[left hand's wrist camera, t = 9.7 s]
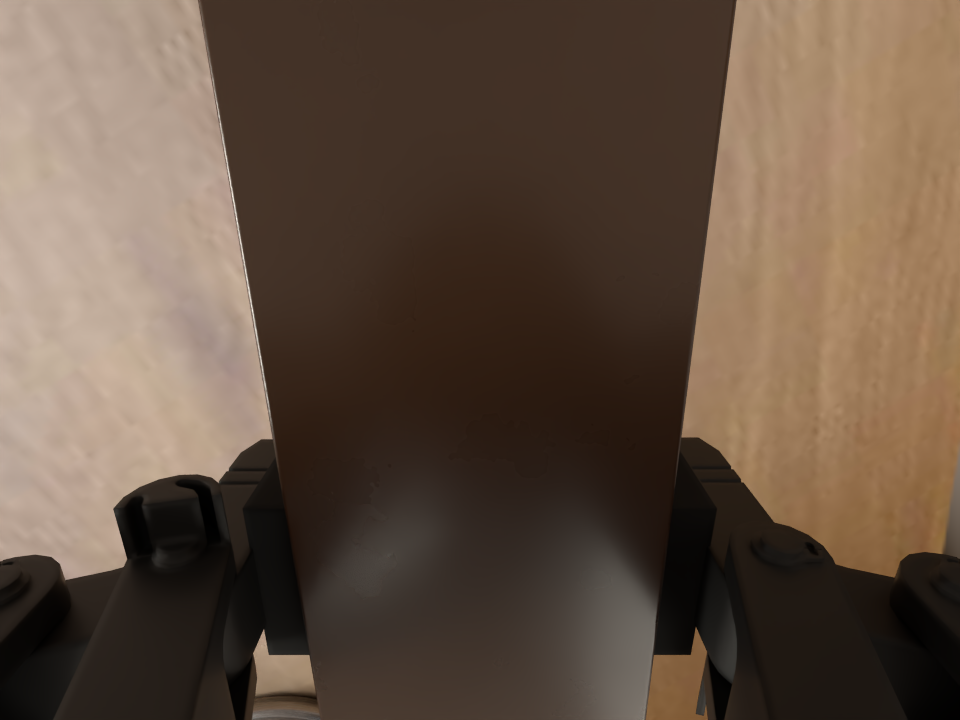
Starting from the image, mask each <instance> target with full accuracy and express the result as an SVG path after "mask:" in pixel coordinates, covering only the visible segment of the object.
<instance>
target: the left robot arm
mask: <svg viewBox="0 0 960 720" xmlns="http://www.w3.org/2000/svg"><path fill="white" fill-rule="evenodd" d="M113 510H114V513H115V517H116V520H117V524H118V527H119V531H120V535H121V538H122V542H123V545H124V549H125V552H126V556H127V561H126V563H125V566H124V567H123V568H119V569H115V570H112V571H107V572H102V573H98V574H93V575H88V576H83V577H79V578H74V579H69V580H65V578H64V575H63V572H62V569H61V566H60V564H59V563H58V562H57V561H55V560H54V559H53V558H52V557H48V556H40V555H29V556H22V557H14V558H10V559H6V560H3V561H1V562H0V720H321V719H320V714H319V708H318V702H317V699H314V698H308V697H298V696H271V697H262V698H256V699H255V691H256V683H257V674H256V666H255V661H254V656H253V652H254V650H255V648H256V645H257V643H258V641H259V639H260V636H261V634H262V632H263V630H264V631H265V636H266V642H267V647H268V653H269V655H309V649H308V643H307V637H306V631H305V625H304V620H303V614H302V608H301V602H300V596H299V590H298V584H297V578H296V573H295V567H294V561H293V555H292V549H291V543H290V537H289V531H288V526H287V520H286V514H285V508H284V502H283V496H282V490H281V484H280V479H279V473H278V467H277V461H276V455H275V449H274V443H273V439H261V440H260V441H258V442H257V443H255V444H254V445H252V446H251V447H249V448H248V449H246V450H244V451H243V452H241V453H240V455H239V456H238V457H237V459H236V460H235V461H234V462H233V464H232V465H231V466H230V468H229V471H227V472H226V473H225V474H224V476H223V477H222V478H221V479H220V481H219V483H218V482H216V481H215V480H214V479H213V478H211V477H206V476H202V475H178V476H173V477H168V478H164V479H159V480H157V481H154V482H152V483H149V484H147V485H144V486H141V487H139V488H138V489H136V490H135V491H133V492H131V493H130V494H128V495H127V496H125V497H123V499H122V500H121V501H120V502H119V503H118V504H117V505H116V506H115V508H114V509H113ZM695 628H697V630H698V632H699V634H700V637H701V639H702V641H703V643H704V646H705V648H706V650H707V656H706V661H705V666H704V671H703V676H702V681H701V686H700V692H699V697H698V702H697V709H696V714H698V715H703V716H704V712H705V707H707V715H708V720H960V559H958V558H957V557H953V556H949V555H944V554H936V553H928V552H922V553H915V554H909V555H908V556H907V557H905V558H904V559H903V560H902V561H900V564H899V567H898V570H897V573H896V576H895V578H893V577H889V576H884V575H879V574H874V573H870V572H865V571H860V570H855V569H851V568H846V567H843V566H839V565H836V564H835V562H834V560H833V558H832V557H831V556H830V554H829V553H828V552H827V550H826V549H825V548H824V546H823V545H821V544H820V543H818V542H817V541H816V540H814V539H813V538H812V537H810V536H809V535H807V534H805V533H803V532H801V531H798V530H796V529H794V528H792V527H790V526H786V525H782V524H778V523H774V522H773V520H772V519H771V518H770V516H769V515H768V514H767V512H766V511H765V510H764V509H763V507H762V506H761V505H760V503H759V502H758V501H757V499H756V498H755V497H754V496H753V494H752V493H751V492H750V490H749V489H748V488H747V487H746V485H745V484H744V483H741V479H740V477H739V476H738V475H737V474H736V472H735V471H734V470H733V469H731V466H730V464H729V463H728V462H727V461H726V459H725V458H724V457H723V455H722V454H721V453H720V452H719V451H718V450H717V449H715V448H714V447H712V446H711V445H709V444H708V443H706V442H704V441H703V440H701V439H700V438H681V443H680V451H679V459H678V467H677V475H676V483H675V491H674V499H673V507H672V515H671V522H670V530H669V538H668V546H667V554H666V562H665V570H664V578H663V586H662V594H661V602H660V610H659V617H658V625H657V633H656V641H655V649H654V655H691V650H692V645H693V639H694V634H695Z"/></svg>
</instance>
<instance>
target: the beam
mask: <svg viewBox="0 0 960 720" xmlns="http://www.w3.org/2000/svg"><path fill="white" fill-rule="evenodd" d="M198 3H199V8H200V14H201V20H202V26H203V32H204V38H205V44H206V50H207V55H208V61H209V67H210V73H211V79H212V85H213V91H214V97H215V102H216V108H217V114H218V120H219V126H220V132H221V138H222V144H223V149H224V155H225V161H226V167H227V173H228V179H229V185H230V191H231V196H232V202H233V208H234V214H235V220H236V226H237V232H238V238H239V243H240V249H241V255H242V261H243V267H244V273H245V279H246V285H247V290H248V296H249V302H250V308H251V314H252V320H253V326H254V332H255V337H256V343H257V349H258V355H259V361H260V367H261V373H262V379H263V384H264V390H265V396H266V402H267V408H268V414H269V420H270V426H271V432H272V437H273V443H274V449H275V455H276V461H277V467H278V473H279V479H280V484H281V490H282V496H283V502H284V508H285V514H286V520H287V526H288V531H289V537H290V543H291V549H292V555H293V561H294V567H295V573H296V578H297V584H298V590H299V596H300V602H301V608H302V614H303V620H304V625H305V631H306V637H307V643H308V649H309V655H310V661H311V667H312V672H313V678H314V684H315V690H316V696H317V702H318V708H319V714H320V719H321V720H646V712H647V704H648V697H649V689H650V681H651V673H652V665H653V657H654V649H655V641H656V633H657V625H658V617H659V610H660V602H661V594H662V586H663V578H664V570H665V562H666V554H667V546H668V538H669V530H670V522H671V515H672V507H673V499H674V491H675V483H676V475H677V467H678V459H679V451H680V443H681V435H682V428H683V420H684V412H685V404H686V396H687V388H688V380H689V372H690V364H691V356H692V348H693V340H694V333H695V325H696V317H697V309H698V301H699V293H700V285H701V277H702V269H703V261H704V253H705V246H706V238H707V230H708V222H709V214H710V206H711V198H712V190H713V182H714V174H715V166H716V159H717V151H718V143H719V135H720V127H721V119H722V111H723V103H724V95H725V87H726V79H727V71H728V64H729V56H730V48H731V40H732V32H733V24H734V16H735V8H736V0H198Z"/></svg>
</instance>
